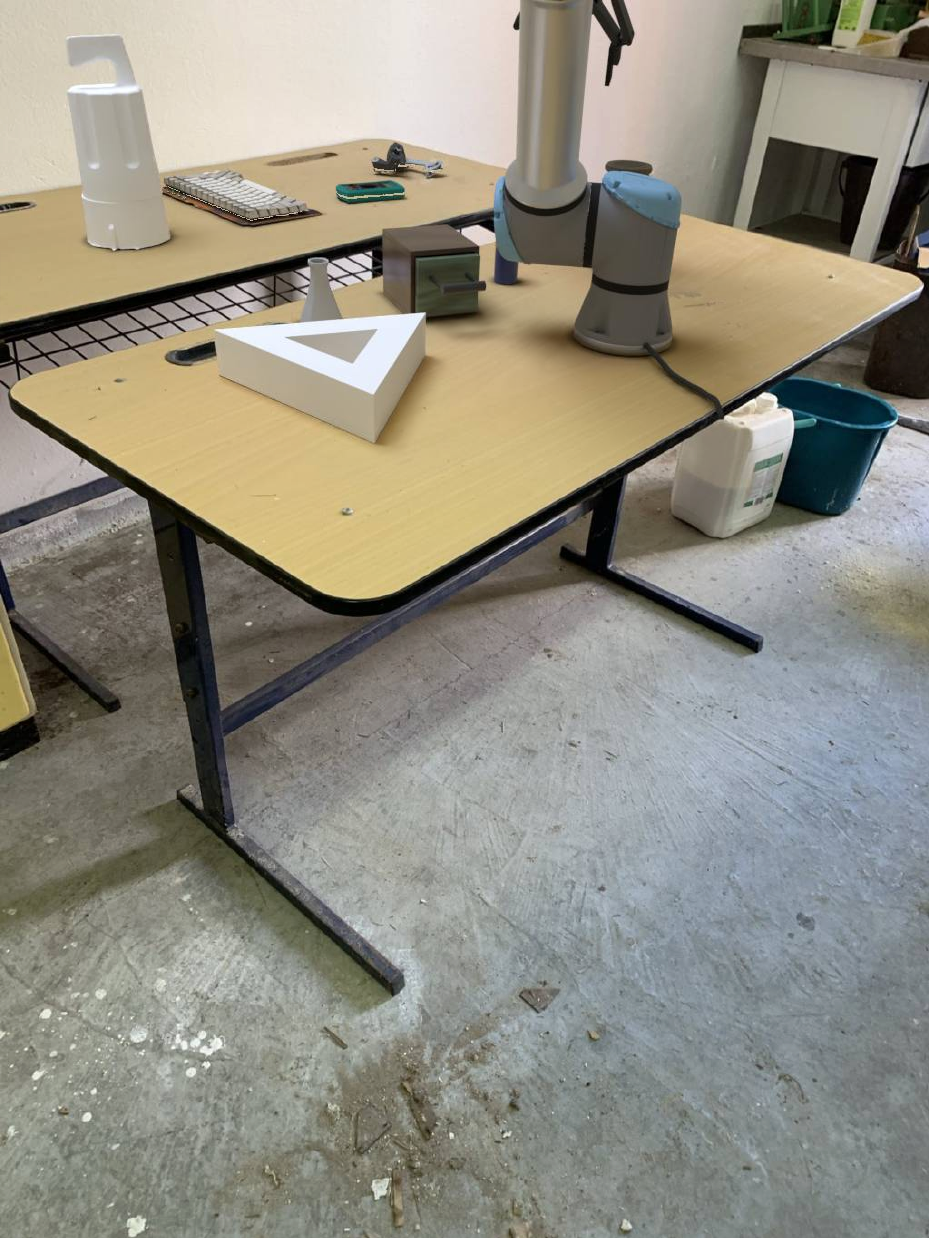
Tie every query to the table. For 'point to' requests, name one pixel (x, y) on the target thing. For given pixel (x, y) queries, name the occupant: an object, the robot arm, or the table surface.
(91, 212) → the white piece
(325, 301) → the flask
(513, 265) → the glue stick
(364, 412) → the triangle block
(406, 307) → the cabinet
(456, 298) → the drawer
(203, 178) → the mechanical keyboard
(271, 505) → the table surface
